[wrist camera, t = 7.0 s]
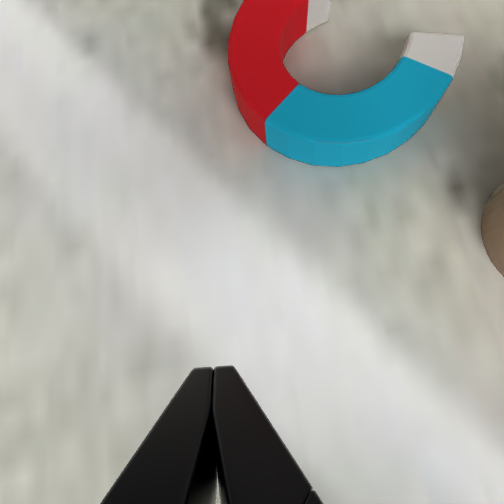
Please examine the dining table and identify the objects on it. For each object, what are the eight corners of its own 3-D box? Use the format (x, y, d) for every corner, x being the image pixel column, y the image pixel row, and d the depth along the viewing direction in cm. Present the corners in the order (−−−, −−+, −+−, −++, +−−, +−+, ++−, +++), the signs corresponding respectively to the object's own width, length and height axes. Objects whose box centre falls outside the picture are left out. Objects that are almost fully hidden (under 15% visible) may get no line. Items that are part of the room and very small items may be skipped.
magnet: (350, 210, 22) (461, 80, 23) (359, 191, 19) (485, 45, 20) (192, 90, 24) (300, -21, 25) (180, 58, 21) (302, -65, 23)
